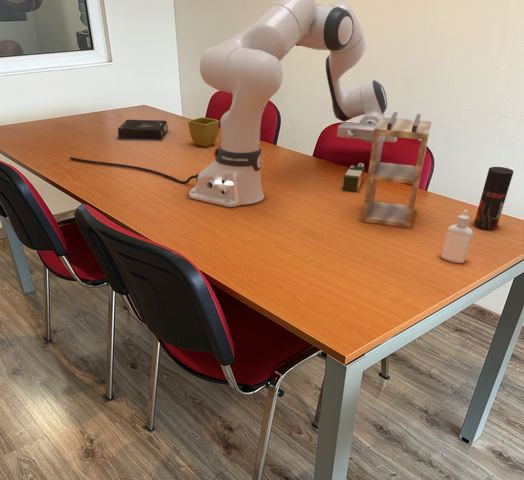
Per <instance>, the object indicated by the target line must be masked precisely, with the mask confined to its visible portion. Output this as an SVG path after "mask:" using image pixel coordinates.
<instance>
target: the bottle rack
mask: <svg viewBox="0 0 524 480" xmlns="http://www.w3.org/2000/svg"><path fill="white" fill-rule="evenodd" d="M398 113H399V112H396V111H394V112H393V113H392V115H391V117H387V118H385V117H382V118H381V119H380V121H379V122H378V124H377V126H376V127H375V129H374V136H373V142H371V152H370V157H369V165H368V171H367V172H368V173H367V180H366V186H365V193H364V200H363V207H362V215H361V222H363V223H372V224H378V225H387V226H393V227H400V228H407V229H410V228H411V223H412V220H413V215H414V212H415V211H414V210H415V205H416V201H417V196H418V192H419V186H420V181H421V176H422V171H423V167H424V161H425V156H426V153H427V152H426V151H427V146H428V142H429V135H430V132H431V126H432V121H430V120H421V117H422V114H421V113H417V114H416V116H415V118H414V119H406V118H398ZM384 136H390V137H397V138H400V139H412V140H420V145H419V150H418V154H417V158H416V159H417V160H416V163H415V164H416V165H410V164H409V165H408V164H401V163H392V162H382V161H381V159H382V152H383V147H384V141H383V140H384ZM378 181H383V182H392V183H393V182H394V183H400V184H410V185H411V191H410V196H409V201H408V205H407V204H400V203H394V202H393V203H390V202H385V201H377V200H376V191H377V186H378Z"/></svg>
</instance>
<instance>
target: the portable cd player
mask: <svg viewBox="0 0 524 480" xmlns="http://www.w3.org/2000/svg"><path fill="white" fill-rule="evenodd" d="M168 130H169V125H168V122H167V120H161V119H160V120H159V119H157V120H155V119H126V120H125V121H124V122H123V123H122V124H121V125H120V126H119V127H118V128H117V133H118V140H120V141H121V140H122V141H124V140H126V141H155V142H157V141H159V142H160V141H161V140H162V139H163V138H164V136H165V135H166V133H167V132H168Z"/></svg>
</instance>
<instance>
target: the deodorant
mask: <svg viewBox="0 0 524 480" xmlns="http://www.w3.org/2000/svg"><path fill="white" fill-rule="evenodd" d="M513 175H514V170H513V169H511V168H508V167H503V166H491V167H489V168H488V171H487V174H486V178H485V182H484V186H483V189H482V193H481V196H480V200H479V203H478V208H477V210H476V211H477V212H476V214H475V218H474V222H473V226H474V227H475V228H477V229H480V230H483V231H484V230H485V231H494V230H496V229H497V227H498V225H499V221H500V218H501V215H502V211H503V208H504V205H505V202H506V199H507V195H508V192H509V188H510V185H511V181H512V178H513Z"/></svg>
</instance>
